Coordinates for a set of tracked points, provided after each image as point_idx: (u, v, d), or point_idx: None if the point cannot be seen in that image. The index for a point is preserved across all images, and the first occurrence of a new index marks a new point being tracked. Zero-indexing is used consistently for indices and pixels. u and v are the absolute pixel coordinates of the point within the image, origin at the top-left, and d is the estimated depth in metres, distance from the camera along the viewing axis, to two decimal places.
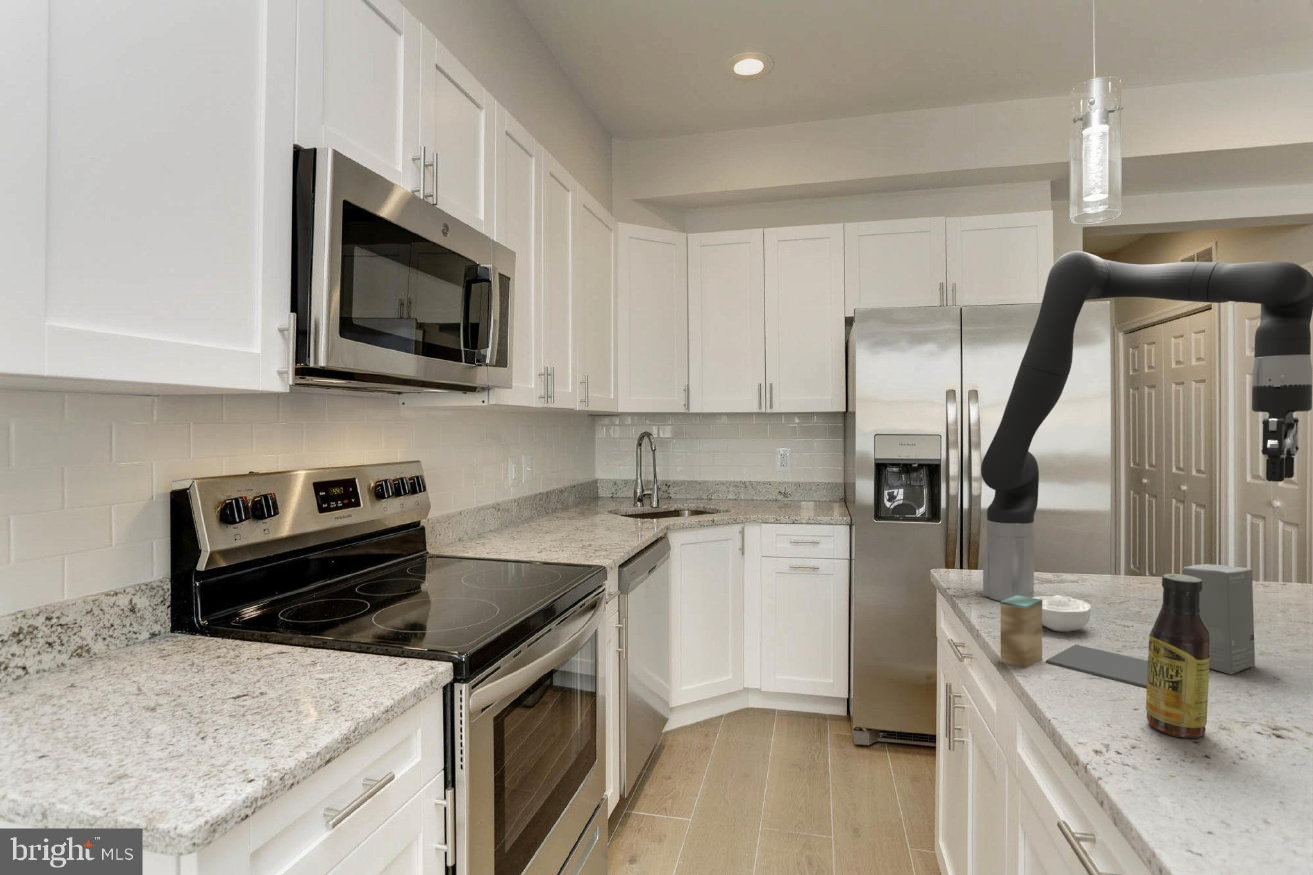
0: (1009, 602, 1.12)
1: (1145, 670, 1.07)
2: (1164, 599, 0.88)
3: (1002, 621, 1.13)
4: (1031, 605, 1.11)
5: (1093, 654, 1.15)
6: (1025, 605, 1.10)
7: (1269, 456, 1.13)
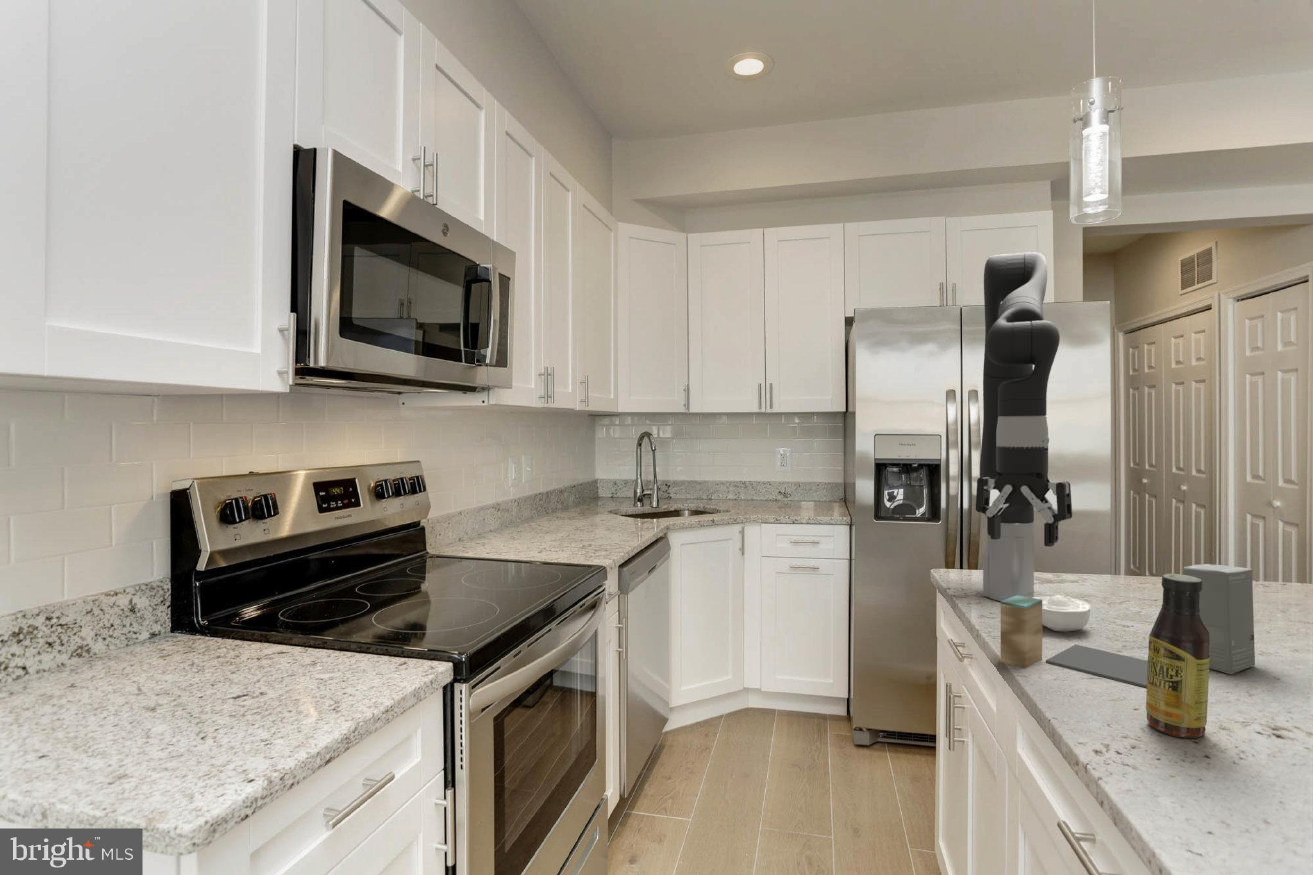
0: (1009, 602, 1.12)
1: (1145, 670, 1.07)
2: (1164, 599, 0.88)
3: (1002, 621, 1.13)
4: (1031, 605, 1.11)
5: (1093, 654, 1.15)
6: (1025, 605, 1.10)
7: (1059, 521, 1.08)
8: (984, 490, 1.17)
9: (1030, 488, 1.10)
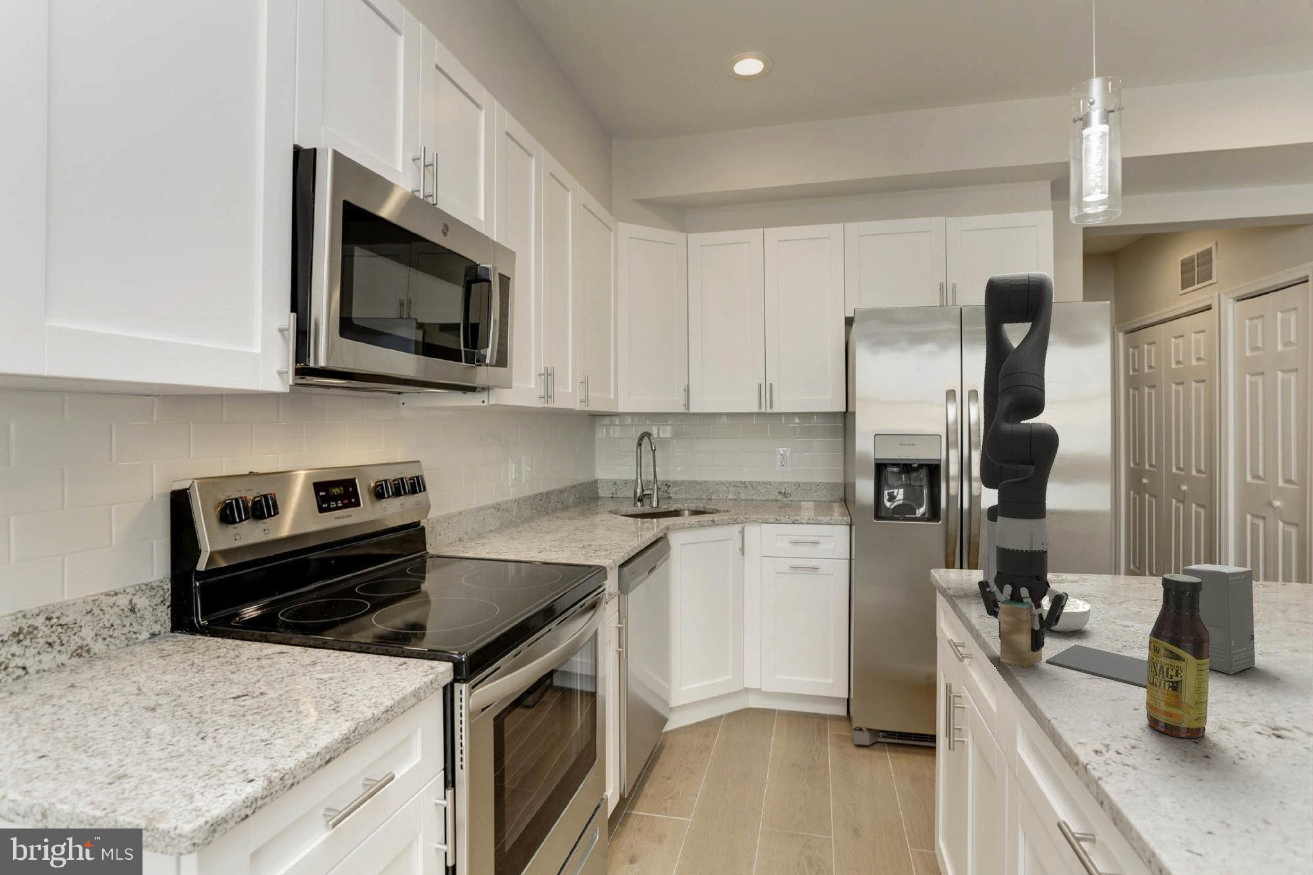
0: (1009, 602, 1.12)
1: (1145, 670, 1.07)
2: (1164, 599, 0.88)
3: (1002, 621, 1.13)
4: None
5: (1093, 654, 1.15)
6: (1025, 605, 1.10)
7: None
8: (988, 592, 1.17)
9: (1029, 591, 1.11)
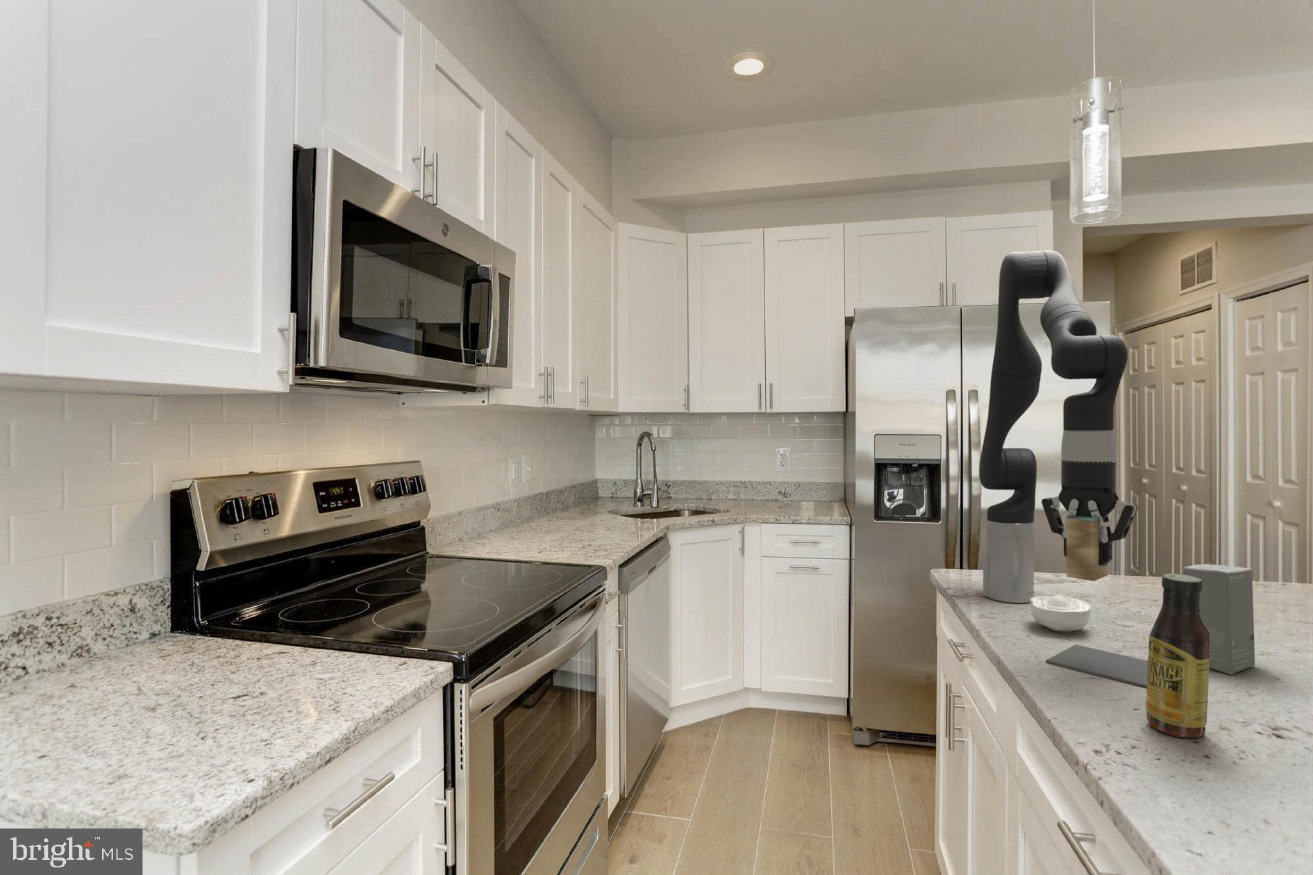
0: (1076, 516, 1.12)
1: (1145, 670, 1.07)
2: (1164, 599, 0.88)
3: (1068, 536, 1.12)
4: None
5: (1093, 654, 1.15)
6: (1093, 518, 1.10)
7: (1113, 540, 1.09)
8: (1052, 510, 1.16)
9: (1097, 504, 1.10)
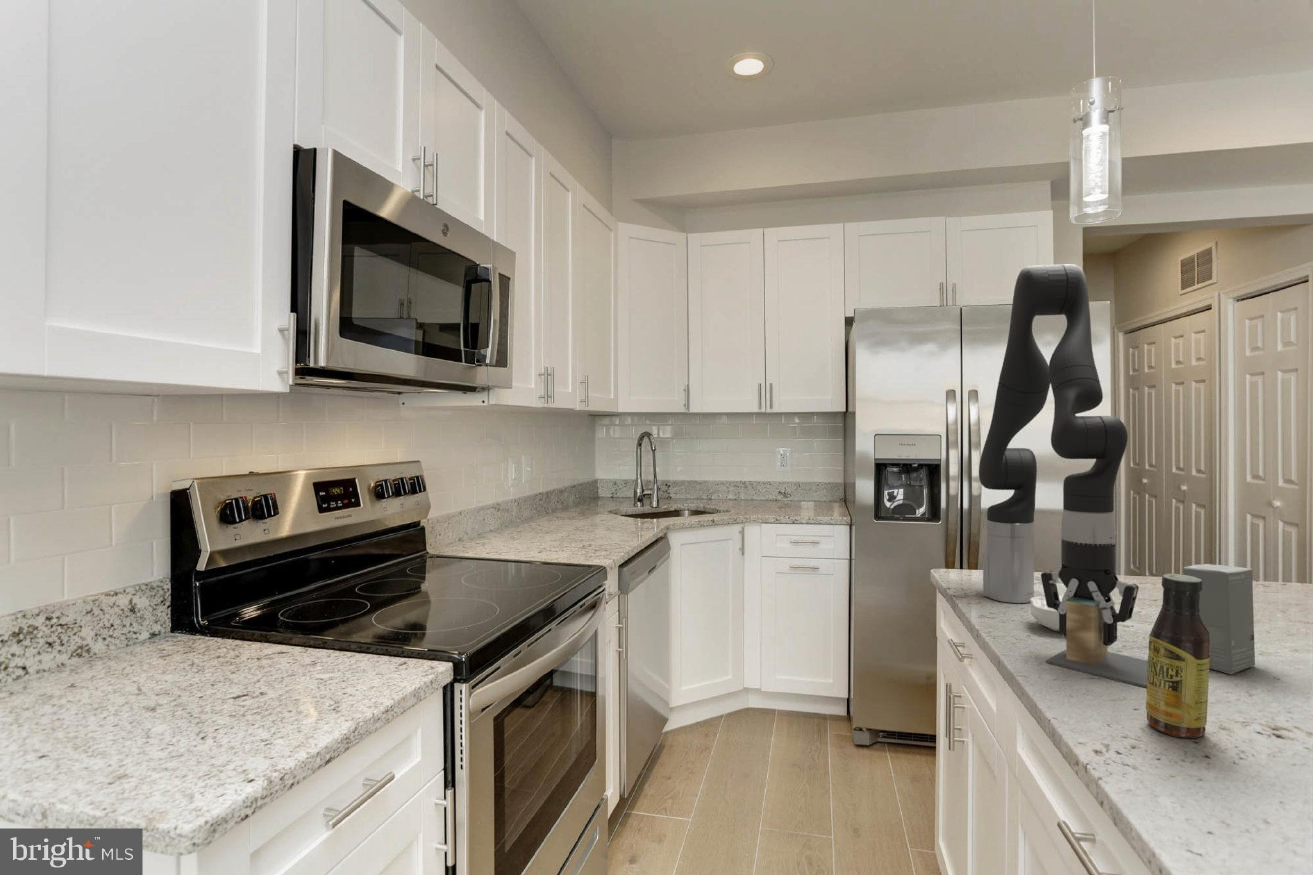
0: (1075, 599, 1.12)
1: (1145, 670, 1.07)
2: (1164, 599, 0.88)
3: (1068, 618, 1.12)
4: None
5: None
6: (1093, 602, 1.10)
7: (1118, 621, 1.09)
8: (1050, 585, 1.16)
9: (1097, 585, 1.10)
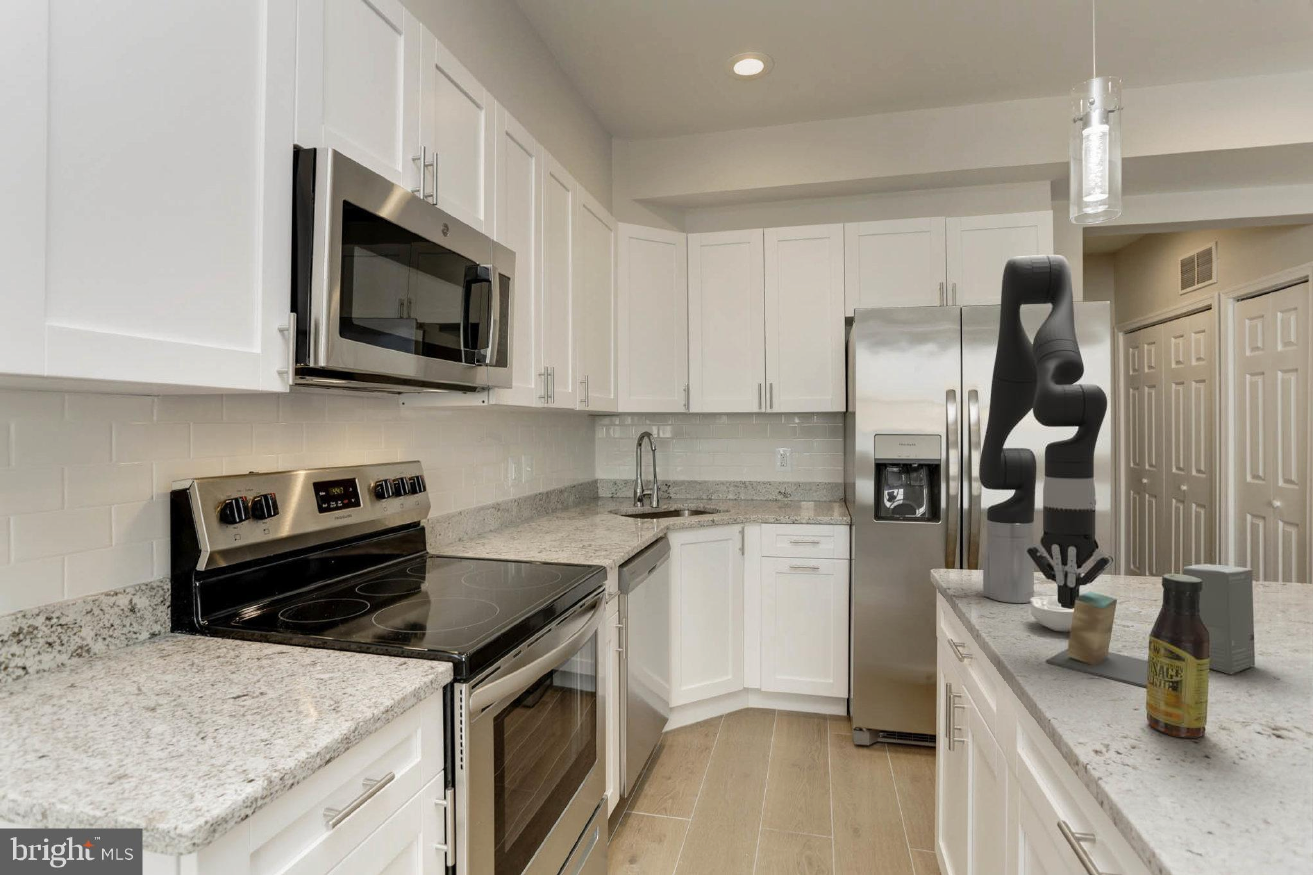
0: (1085, 599, 1.11)
1: (1145, 670, 1.07)
2: (1164, 599, 0.88)
3: (1075, 617, 1.12)
4: (1108, 604, 1.10)
5: None
6: (1102, 604, 1.09)
7: (1080, 585, 1.13)
8: (1040, 557, 1.17)
9: (1077, 551, 1.12)
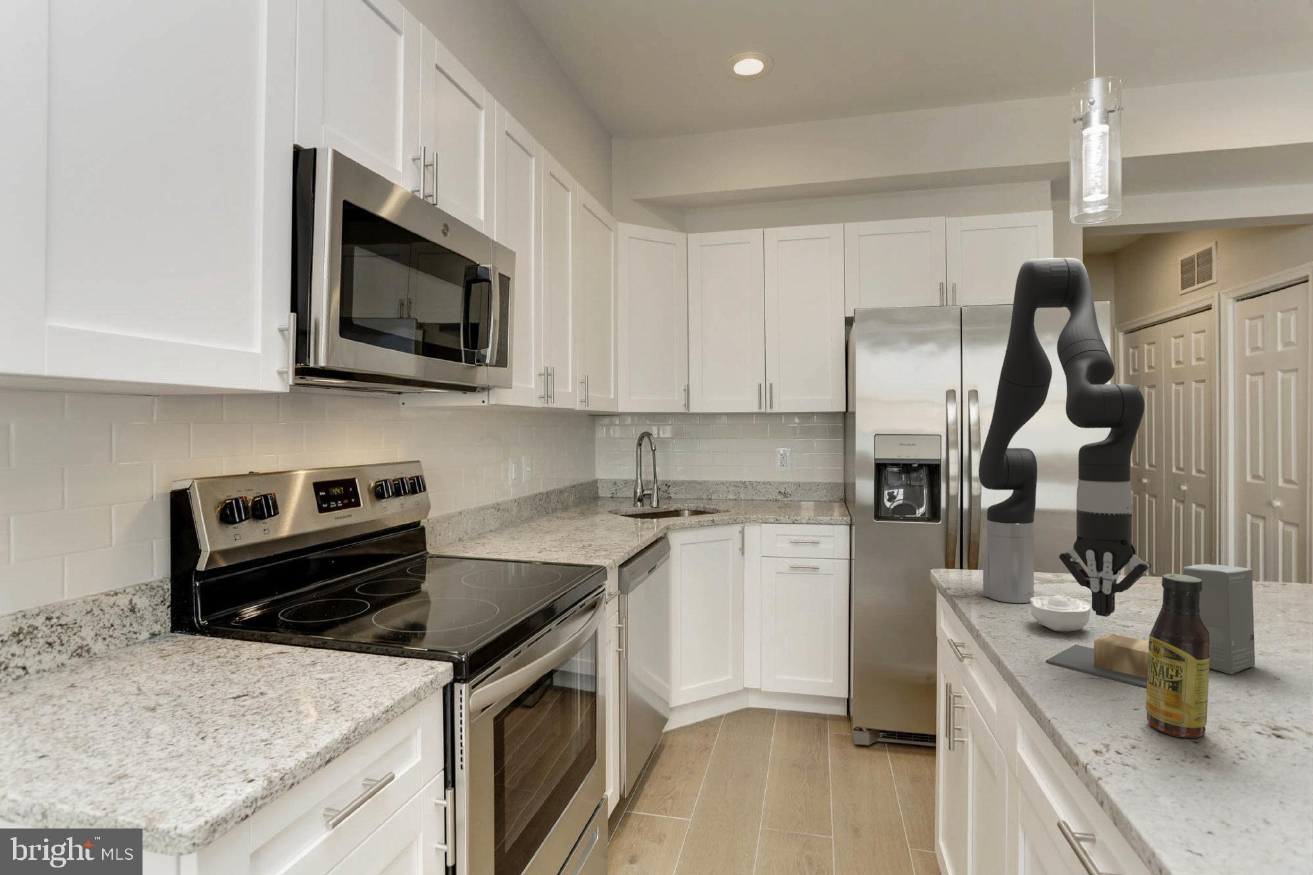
0: None
1: None
2: (1164, 599, 0.88)
3: (1143, 653, 1.04)
4: None
5: (1093, 654, 1.15)
6: None
7: None
8: (1073, 563, 1.13)
9: (1113, 557, 1.08)
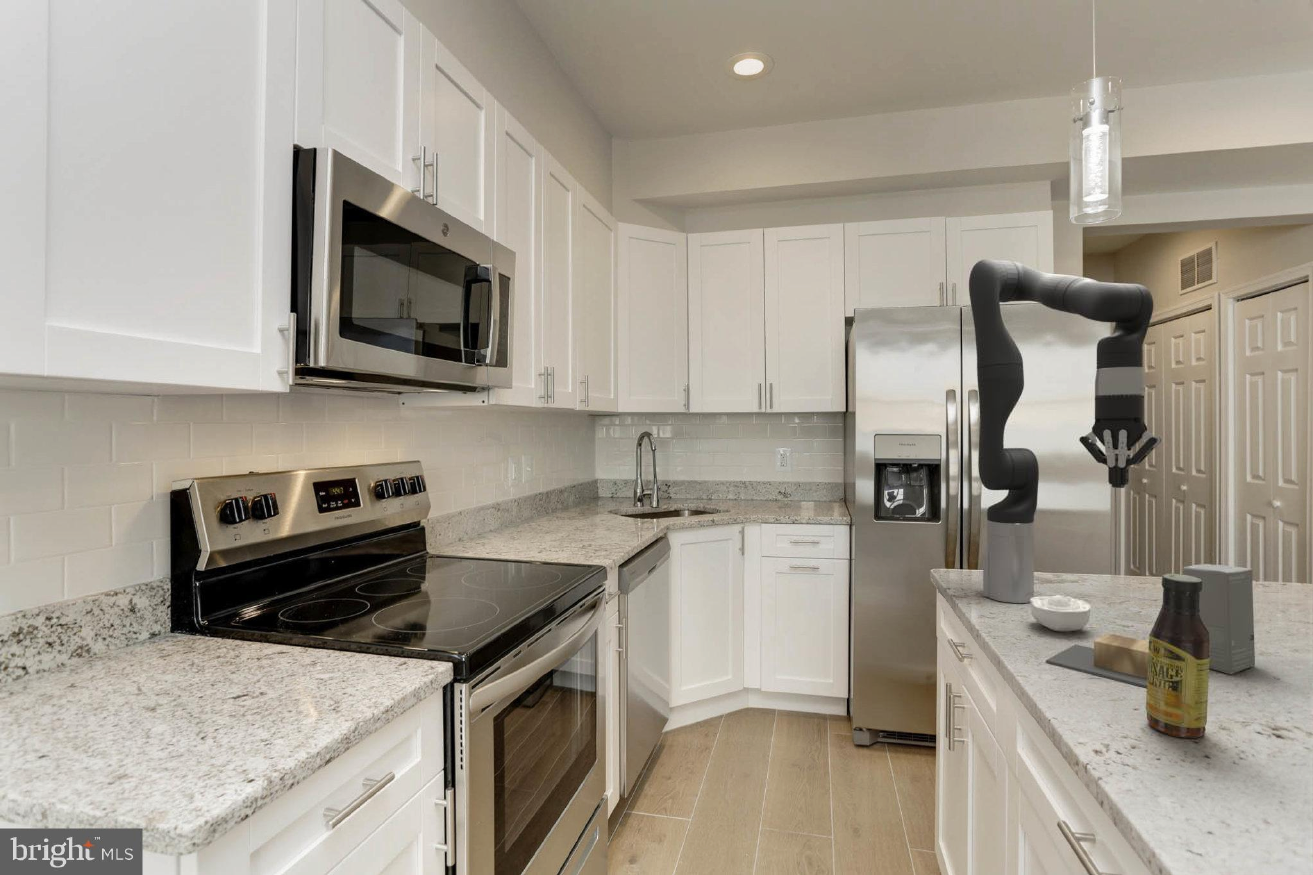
0: None
1: None
2: (1164, 599, 0.88)
3: (1143, 653, 1.04)
4: None
5: (1093, 654, 1.15)
6: None
7: (1130, 465, 1.24)
8: (1091, 444, 1.29)
9: (1127, 434, 1.24)
